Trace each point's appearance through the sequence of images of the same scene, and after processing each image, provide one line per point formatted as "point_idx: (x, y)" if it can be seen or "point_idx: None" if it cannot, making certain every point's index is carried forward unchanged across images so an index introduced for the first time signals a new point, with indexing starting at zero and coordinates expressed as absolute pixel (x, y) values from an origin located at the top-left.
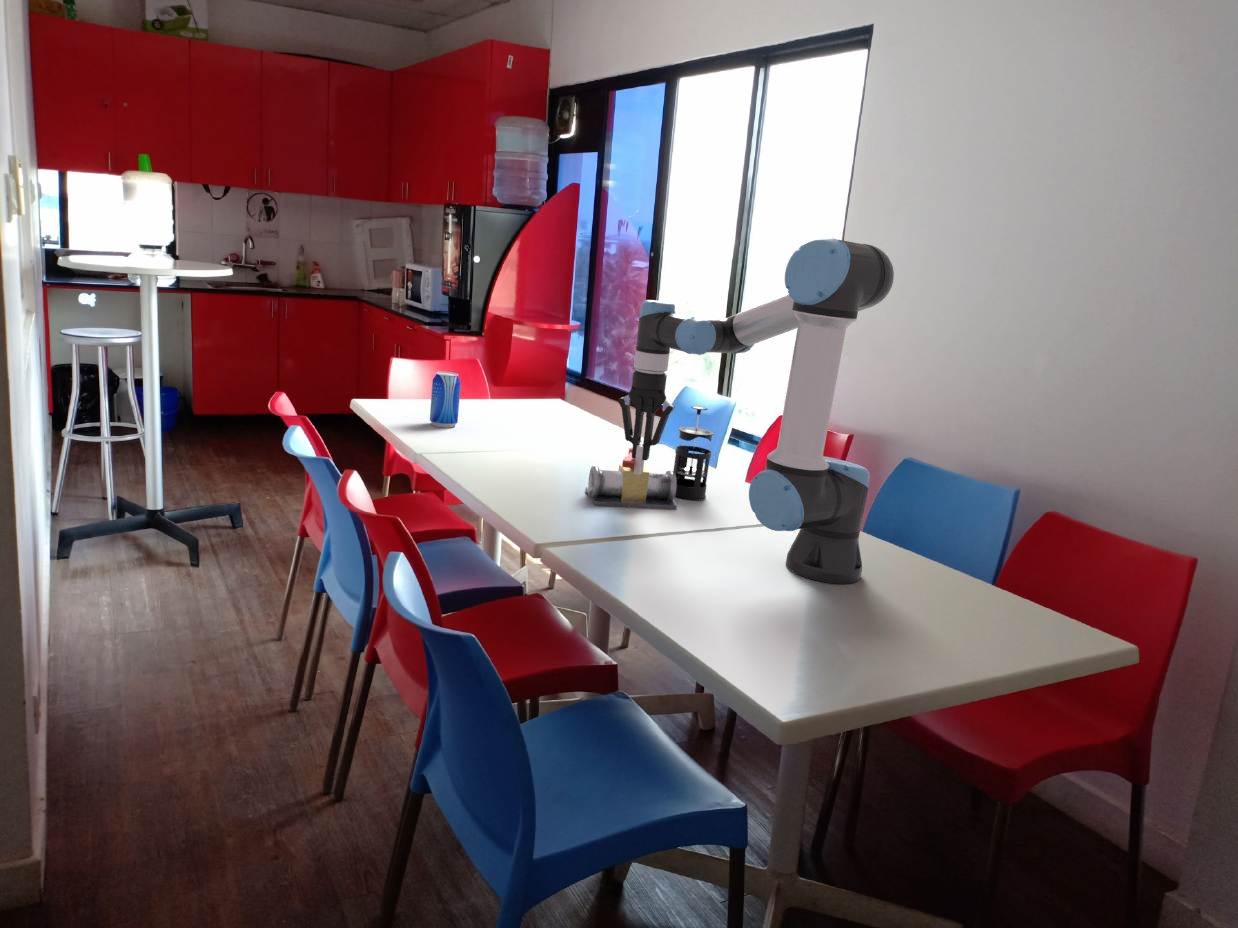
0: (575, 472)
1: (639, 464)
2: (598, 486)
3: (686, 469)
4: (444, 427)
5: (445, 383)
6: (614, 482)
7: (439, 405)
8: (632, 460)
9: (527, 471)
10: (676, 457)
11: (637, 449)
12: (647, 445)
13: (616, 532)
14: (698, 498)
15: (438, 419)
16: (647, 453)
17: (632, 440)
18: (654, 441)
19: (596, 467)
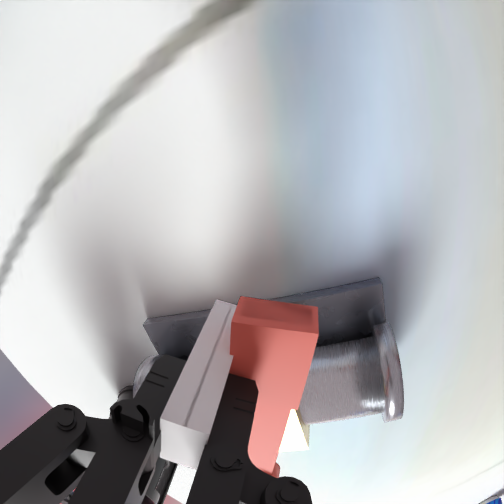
0: (379, 465)
1: (209, 334)
2: (380, 336)
3: None
4: (489, 498)
5: None
6: (326, 366)
7: None
8: (251, 350)
9: (467, 435)
10: (152, 478)
11: (208, 410)
12: (111, 408)
13: (297, 12)
14: (124, 391)
15: (497, 501)
16: (144, 383)
17: (248, 482)
18: (56, 426)
19: (394, 407)
